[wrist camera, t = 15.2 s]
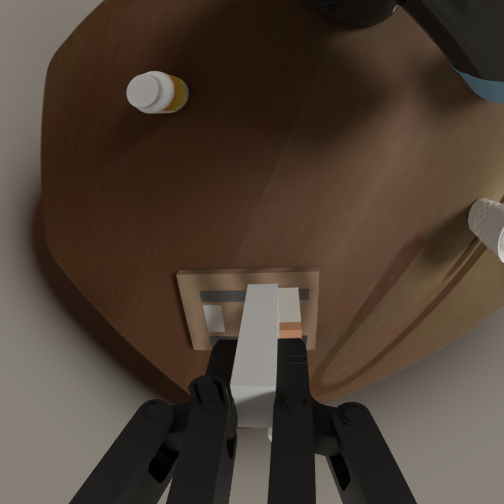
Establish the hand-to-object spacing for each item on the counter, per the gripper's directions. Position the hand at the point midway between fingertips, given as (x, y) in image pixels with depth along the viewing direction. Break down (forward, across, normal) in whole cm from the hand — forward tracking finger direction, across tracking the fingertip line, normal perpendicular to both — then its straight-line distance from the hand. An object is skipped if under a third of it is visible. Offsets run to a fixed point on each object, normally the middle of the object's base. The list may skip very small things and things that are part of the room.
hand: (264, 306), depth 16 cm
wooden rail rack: (+28, -5, -21) cm, 36 cm away
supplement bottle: (+29, -13, +14) cm, 34 cm away
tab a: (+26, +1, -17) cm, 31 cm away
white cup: (+29, +36, -5) cm, 46 cm away
